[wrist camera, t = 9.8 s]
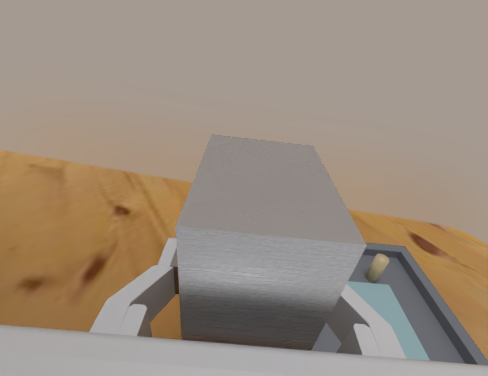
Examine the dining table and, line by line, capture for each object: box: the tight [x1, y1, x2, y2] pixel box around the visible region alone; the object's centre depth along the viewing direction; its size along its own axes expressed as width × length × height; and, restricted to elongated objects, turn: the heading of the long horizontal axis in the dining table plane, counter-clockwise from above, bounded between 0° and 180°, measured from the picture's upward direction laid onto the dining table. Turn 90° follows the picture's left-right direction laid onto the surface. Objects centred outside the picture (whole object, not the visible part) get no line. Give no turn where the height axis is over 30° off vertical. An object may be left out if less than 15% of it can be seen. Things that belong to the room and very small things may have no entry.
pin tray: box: [311, 243, 488, 365], centre depth 21 cm, size 14×18×4 cm
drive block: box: [176, 135, 367, 351], centre depth 12 cm, size 4×6×12 cm
